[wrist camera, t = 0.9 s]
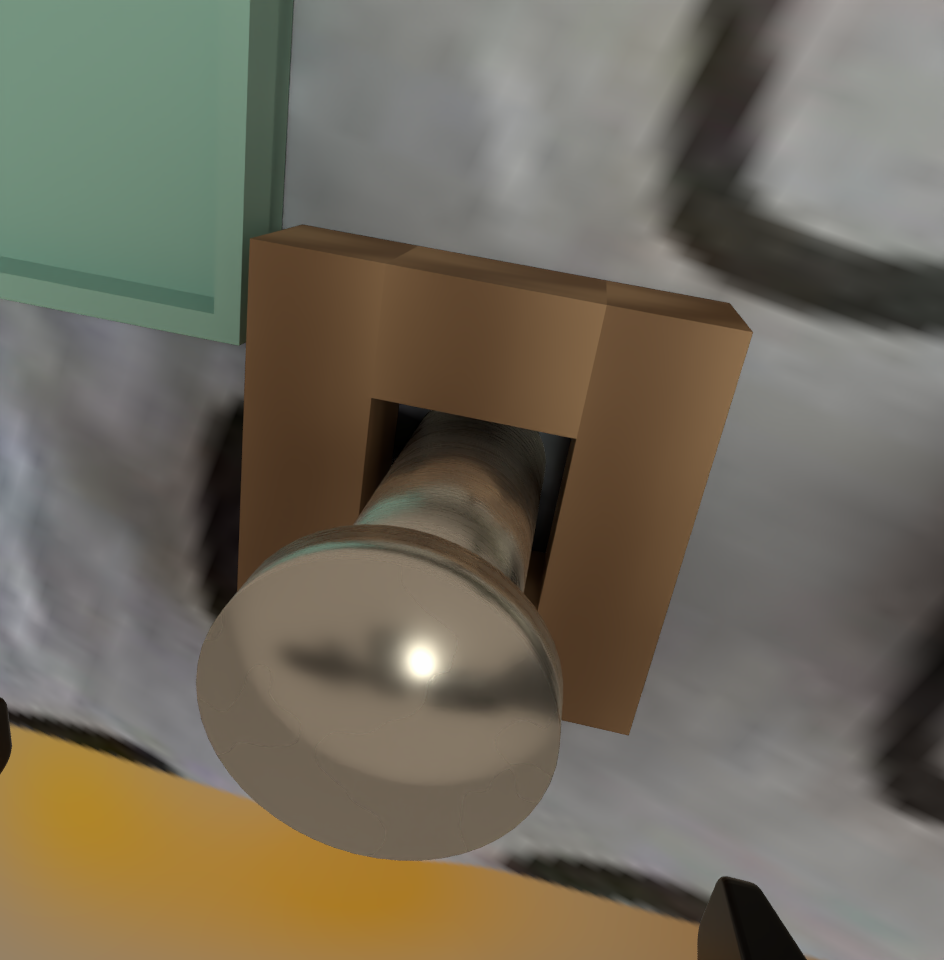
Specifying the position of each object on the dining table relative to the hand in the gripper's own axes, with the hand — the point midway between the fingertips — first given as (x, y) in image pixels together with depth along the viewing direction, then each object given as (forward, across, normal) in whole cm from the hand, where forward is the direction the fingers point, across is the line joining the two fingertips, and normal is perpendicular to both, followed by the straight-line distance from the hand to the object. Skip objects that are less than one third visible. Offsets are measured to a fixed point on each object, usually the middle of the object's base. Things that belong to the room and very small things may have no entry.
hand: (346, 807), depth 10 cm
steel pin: (+12, 0, 0) cm, 12 cm away
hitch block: (+12, 0, 0) cm, 12 cm away
